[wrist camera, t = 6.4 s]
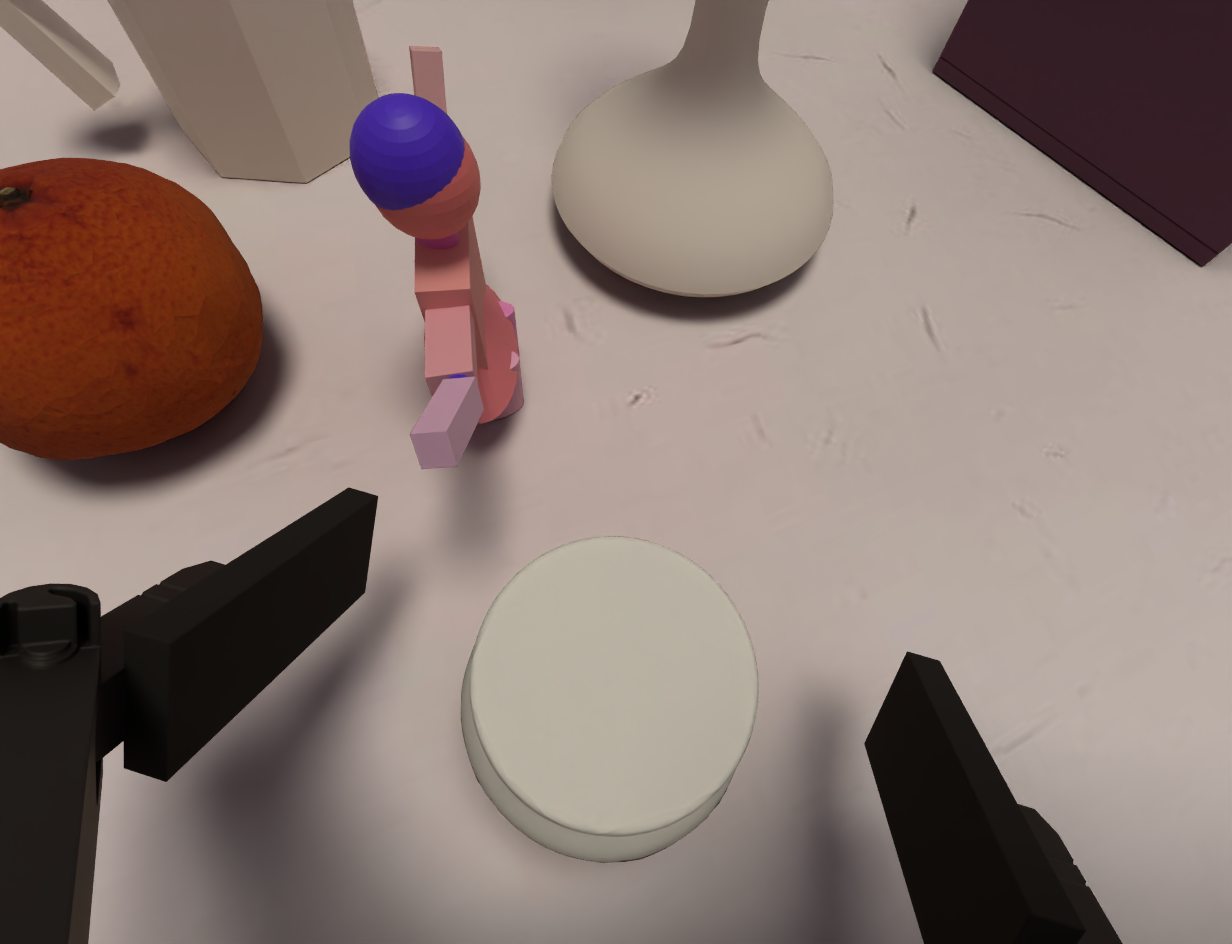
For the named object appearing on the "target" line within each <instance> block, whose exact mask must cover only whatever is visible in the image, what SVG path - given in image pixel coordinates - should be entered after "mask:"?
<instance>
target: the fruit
mask: <svg viewBox="0 0 1232 944" xmlns="http://www.w3.org/2000/svg"><path fill="white" fill-rule="evenodd" d="M262 342H263V314H262V303H261V297H260V292H259V289H258V286H257V284H256V283H255V281H254V278H253V276H252V275H251V273H250V270H249V267H248V265H247V263H246V261H245V260H244V258H243V257H242V255H241V254H240V252H239V251H238V249H237V248H236V247H235V245H234V244H233V242H232V241H231V239H230V237H229V236H228V234H227V232H226V231H225V229H224V228H223V226H222V225H221V223H220V222H219V220H218V219H217V217H216V216H215V215H214V213H213V212H212V211H211V210H210V209H209V208H208V207H207V206H206V205H205V204H204V203H203V202H202V201H201V200H200V199H198V198H197V197H196V196H194V195H193V194H191V193H190V192H188V191H187V190H186V189H184V188H183V187H181V186H180V185H178V184H177V183H175V182H173V181H170V180H168V179H165V178H163V177H161V176H159V175H157V174H155V173H152V172H150V171H148V170H146V169H143V168H139V167H136V166H132V165H129V164H125V163H117V162H113V161H105V160H97V159H88V158H58V159H50V160H43V161H37V162H31V163H26V164H22V165H18V166H13V167H8V168H4V169H1V170H0V443H2V444H4V445H6V446H7V447H9V448H12V449H15V450H19V451H23V452H26V453H28V454H31V455H34V456H37V457H40V458H48V459H56V460H61V459H62V460H71V459H86V458H94V457H100V456H106V455H112V454H119V453H124V452H130V451H136V450H141V449H144V448H148V447H151V446H154V445H157V444H160V443H162V442H164V441H167V440H169V439H171V438H174V437H177V436H179V435H182V434H185V433H187V432H189V431H191V430H193V429H195V428H197V427H198V426H200V425H201V424H203V423H204V422H206V421H208V420H209V419H210V418H211V417H213V416H214V415H216V414H217V413H219V412H220V411H221V410H222V409H223V408H224V407H225V406H226V405H227V404H228V403H229V402H231V401H232V400H233V399H234V398H235V397H236V396H237V394H238V393H239V392H240V391H241V390H242V388H243V387H244V386H245V384H246V382H247V381H248V379H249V378H250V376H251V374H252V373H253V371H254V369H255V368H256V365H257V362H258V359H259V356H260V351H261V346H262Z"/></svg>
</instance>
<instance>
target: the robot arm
mask: <svg viewBox="0 0 1232 944" xmlns="http://www.w3.org/2000/svg"><path fill="white" fill-rule="evenodd" d="M377 501H378V496H376V495H373V494H369V493H366V492H362V491H359V490H356V489H352V488H347V489H346V490H344V491H342V492H341V493H339V494H338V495H336V496H335V497H333V498H331V499H330V500H328V501H327V502H325V503H323V504H322V505H320V506H319V507H317V508H315V509H314V510H312V511H311V512H309V513H307V514H306V515H304V516H303V517H301V518H300V519H298V520H296V521H295V522H293V523H292V524H290V525H288V526H287V527H285V528H284V529H282V530H280V531H279V532H277V533H276V534H274V535H273V536H271V537H269V538H268V539H266V540H265V541H263V542H261V543H260V544H258V545H257V546H255V547H253V548H252V549H250V550H249V551H247V552H245V553H244V554H242V555H241V556H239V557H238V558H236V559H234V560H233V561H231V562H230V563H228V564H226V565H224V564H220V563H217V562H214V561H208V562H205V563H201V564H198V565H194V566H191V567H187V568H184V569H182V570H180V571H178V572H177V573H175V574H173V575H171V576H170V577H168V578H166V579H165V580H163V581H161V583H160V585H157V584H156V585H154V586H153V587H151V588H149V589H148V590H146V591H144V592H143V594H142V595H141V596H140V595H137V596H136V597H134V598H132V599H130V600H129V601H127V602H125V603H124V604H122V605H120V606H118V607H117V608H115V609H113V610H112V611H110V612H108V613H107V614H105V615H103V616H101V609H100V600H99V597H98V594H96V593H95V592H93V591H92V590H90V589H88V588H86V587H82V586H77V585H73V584H45V585H38V586H31V587H27V588H24V589H21V590H17V591H14V592H11V593H9V594H7V595H5V596H3V597H2V598H0V944H88V939H89V927H90V916H91V904H92V893H93V881H94V870H95V858H96V847H97V835H98V824H99V812H100V800H101V789H102V777H103V757H104V756H105V755H107V754H108V753H109V752H110V751H112V750H113V749H114V748H115V747H116V746H118V745H119V744H120V743H121V742H123V741H124V768H125V769H128V770H131V771H134V772H137V773H140V774H143V775H147V776H150V777H153V778H156V779H159V780H162V781H165V782H167V781H168V780H169V779H170V778H171V777H172V776H173V775H174V774H175V773H176V772H177V771H178V770H179V769H180V768H181V767H183V766H184V765H185V764H186V763H187V762H188V761H189V760H190V759H191V758H192V757H193V756H194V755H195V754H196V753H197V752H198V751H199V750H200V749H201V748H202V747H204V746H205V745H206V744H207V743H208V742H209V741H210V740H211V739H212V738H213V737H214V736H215V735H216V734H217V733H218V732H219V731H220V730H221V729H222V728H223V727H224V726H226V725H227V724H228V723H229V722H230V721H231V720H232V719H233V718H234V717H235V716H236V715H237V714H238V713H239V712H240V711H241V710H242V709H243V708H244V707H245V706H246V705H248V704H249V703H250V702H251V701H252V700H253V699H254V698H255V697H256V696H257V695H258V694H259V693H260V692H261V691H262V690H263V689H264V688H265V687H266V686H267V685H268V684H270V683H271V682H272V681H273V680H274V679H275V678H276V677H277V676H278V675H279V674H280V673H281V672H282V671H283V670H284V669H285V668H286V667H287V666H288V665H289V664H290V663H292V662H293V661H294V660H295V659H296V658H297V657H298V656H299V655H300V654H301V653H302V652H303V651H304V650H305V649H306V648H307V647H308V646H309V645H310V644H311V643H312V642H314V641H315V640H316V639H317V638H318V637H319V636H320V635H321V634H322V633H323V632H324V631H325V630H326V629H327V628H328V627H329V626H330V625H331V624H332V623H333V622H334V621H336V620H337V619H338V618H339V617H340V616H341V615H342V614H343V613H344V612H345V611H346V610H347V609H348V608H349V607H350V606H351V605H352V604H353V603H354V602H355V601H356V600H358V599H359V598H360V597H361V596H362V595H363V594H364V593H365V589H366V581H367V574H368V567H369V559H370V552H371V545H372V537H373V530H374V523H375V516H376V508H377ZM864 744H865V747H866V751H867V754H868V757H869V761H870V764H871V768H872V771H873V774H874V778H875V781H876V784H877V788H878V791H879V794H880V798H881V801H882V804H883V808H884V811H885V815H886V818H887V821H888V825H889V828H890V831H891V835H892V838H893V841H894V845H895V848H896V851H897V855H898V858H899V862H900V865H901V868H902V872H903V875H904V878H905V882H906V885H907V888H908V892H909V895H910V898H911V902H912V905H913V909H914V912H915V915H916V919H917V922H918V925H919V929H920V932H921V935H922V939H923V942H924V944H1122V942H1121V940H1120V939H1119V937H1118V935H1117V934H1116V932H1115V930H1114V928H1113V927H1112V925H1111V923H1110V922H1109V920H1108V918H1107V917H1106V915H1105V913H1104V911H1103V910H1102V908H1101V906H1100V905H1099V903H1098V901H1097V899H1096V898H1095V896H1094V894H1093V893H1092V891H1091V889H1090V888H1089V887H1088V886H1086V885H1085V883H1086V881H1085V879H1084V877H1083V876H1082V874H1081V872H1080V870H1079V869H1078V867H1077V865H1074V864H1073V859H1072V857H1071V855H1070V853H1069V852H1068V850H1067V848H1066V847H1065V845H1064V843H1063V841H1062V840H1061V838H1060V836H1059V835H1058V834H1057V832H1056V831H1055V830H1054V829H1053V828H1052V827H1051V826H1050V825H1049V824H1048V823H1047V822H1046V821H1045V820H1044V819H1043V818H1042V816H1041V815H1040V814H1039V813H1038V812H1037V811H1036V810H1035V809H1032V808H1029V807H1026V806H1023V805H1019V804H1017V802H1016V800H1015V799H1014V797H1013V795H1012V793H1011V791H1010V789H1009V788H1008V786H1007V784H1006V782H1005V780H1004V778H1003V776H1002V775H1001V773H1000V771H999V769H998V767H997V765H996V764H995V762H994V760H993V758H992V756H991V754H990V753H989V751H988V749H987V747H986V745H985V743H984V742H983V740H982V738H981V736H980V734H979V732H978V731H977V729H976V727H975V725H974V723H973V721H972V719H971V718H970V716H969V714H968V712H967V710H966V708H965V707H964V705H963V703H962V701H961V699H960V697H959V696H958V694H957V692H956V690H955V688H954V686H953V685H952V683H951V681H950V679H949V677H948V675H947V674H946V672H945V670H944V668H943V666H942V664H941V662H940V661H938V660H935V659H931V658H928V657H925V656H921V655H918V654H914V653H911V652H908V651H907V653H906V655H905V657H904V659H903V661H902V664H901V666H900V668H899V670H898V672H897V674H896V677H895V679H894V681H893V683H892V685H891V687H890V689H889V692H888V694H887V696H886V698H885V700H884V702H883V705H882V707H881V709H880V711H879V713H878V715H877V717H876V720H875V722H874V724H873V726H872V728H871V730H870V733H869V735H868V737H867V739H866V741H865V743H864Z"/></svg>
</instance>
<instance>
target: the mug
mask: <svg viewBox="0 0 1232 944" xmlns="http://www.w3.org/2000/svg"><path fill="white" fill-rule="evenodd" d="M108 2H109V4H110V5H111V7H112V9H113V11H114V12H115V14H116V16H117V18H118V19H119V21H120V23H121V25H122V26H123V28H124V30H125V31H126V33H127V35H128V37H129V38H130V40H131V42H132V44H133V45H134V47H135V49H136V51H137V52H138V54H139V56H140V58H141V59H142V61H143V63H144V64H145V66H146V68H147V70H148V71H149V73H150V75H151V77H152V78H153V80H154V82H155V84H156V85H157V87H158V89H159V90H160V92H161V94H162V96H163V97H164V99H165V101H166V103H167V104H168V106H169V108H170V110H171V111H172V113H173V115H174V116H175V118H176V120H177V122H178V123H179V125H180V127H181V129H182V130H183V132H184V133H185V134H186V135H187V137H188V138H189V139H190V140H191V141H192V143H193V144H194V145H195V146H196V147H197V148H198V150H199V151H200V152H201V153H202V154H203V156H204V157H205V158H206V159H207V160H208V162H209V163H210V164H211V165H212V166H213V168H214V169H215V170H216V171H217V172H218V174H219V175H220V176H221V177H229V178H243V179H257V180H271V181H286V182H300V183H307V182H309V181H311V180H312V179H314V178H316V177H317V176H319V175H320V174H322V173H324V172H325V171H327V170H329V169H330V168H332V167H334V166H335V165H337V164H339V163H340V162H342V161H344V160H345V159H347V158H349V157H350V137H351V132H352V128H353V125H354V123H355V121H356V119H357V117H358V116H359V114H360V113H361V111H362V110H363V109H364V108H365V107H366V106H367V105H368V104H370V103H371V102H372V101H374V100H376V99H378V94H377V90H376V86H375V83H374V79H373V75H372V72H371V68H370V64H369V60H368V57H367V53H366V49H365V45H364V42H363V38H362V34H361V30H360V27H359V23H358V19H357V16H356V12H355V8H354V4H353V1H352V0H108ZM0 26H1V27H2V28H3V29H4V30H5V31H6V32H8V33H9V34H10V35H11V36H12V37H13V38H14V39H15V40H16V41H18V42H19V43H20V44H21V45H22V46H23V47H24V48H25V49H26V50H28V51H29V52H30V53H31V54H32V55H33V56H34V57H35V58H36V59H38V60H39V61H40V62H41V63H42V64H43V65H44V66H45V67H46V68H48V69H49V70H50V71H51V72H52V73H53V74H54V75H55V76H56V77H58V78H59V79H60V80H61V81H62V82H63V83H64V84H65V85H66V86H67V87H69V88H70V89H71V90H72V91H73V92H74V93H75V94H76V95H77V96H79V97H80V98H81V99H82V100H83V101H84V102H85V103H86V104H87V105H89V106H90V107H91V108H92V109H93V110H94V111H95V110H96V109H97V108H99V107H100V106H102V105H103V104H105V103H106V102H107V101H109V100H110V99H112V98H113V97H115V95H116V93H117V91H118V89H119V87H120V82H119V80H118V77H117V74H116V71H115V69H114V66H113V63H112V62H111V61H110V60H109V59H108V58H107V57H105V56H104V55H103V54H102V53H101V52H100V51H99V50H98V49H96V48H95V47H94V46H93V45H92V44H91V43H90V42H89V41H87V40H86V39H85V38H84V37H83V36H82V35H81V34H79V33H78V32H77V31H76V30H75V29H74V28H73V27H72V26H70V25H69V24H68V23H67V22H66V21H65V20H64V19H62V18H61V17H60V16H59V15H58V14H57V13H56V12H55V11H53V10H52V9H51V8H50V7H49V6H48V5H47V4H45V3H44V2H43V1H42V0H0Z"/></svg>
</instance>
